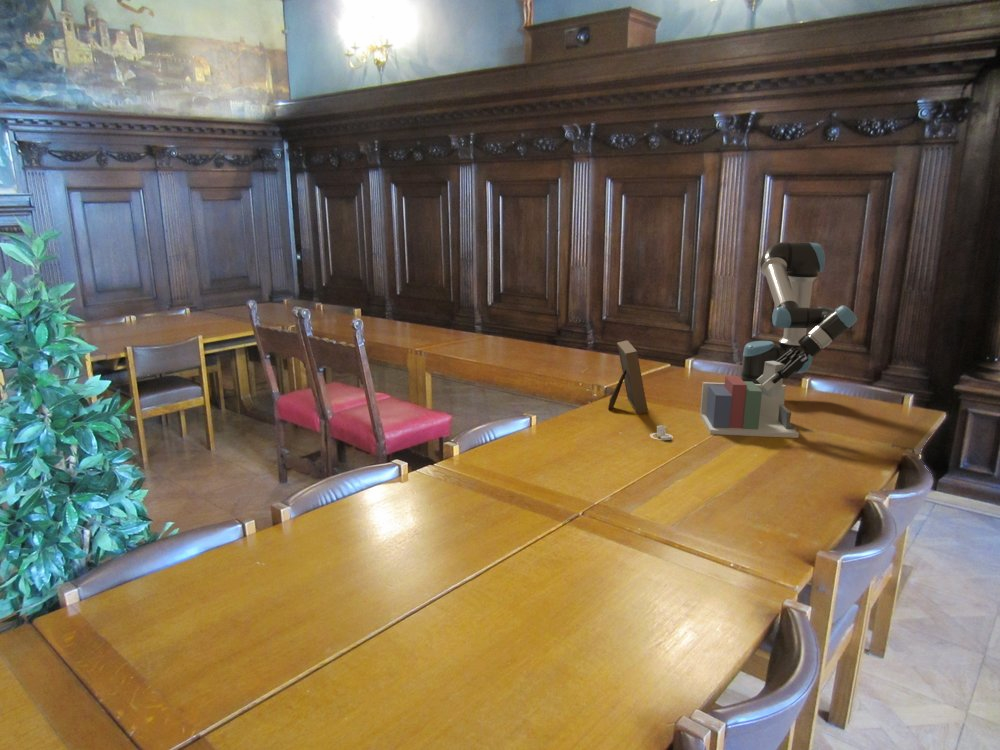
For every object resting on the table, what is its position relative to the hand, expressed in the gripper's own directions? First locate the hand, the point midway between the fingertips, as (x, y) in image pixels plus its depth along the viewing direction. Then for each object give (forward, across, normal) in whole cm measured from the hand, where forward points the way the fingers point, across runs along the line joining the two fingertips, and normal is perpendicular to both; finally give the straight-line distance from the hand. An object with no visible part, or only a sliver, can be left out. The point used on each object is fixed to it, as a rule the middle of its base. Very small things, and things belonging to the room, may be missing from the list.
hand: (761, 385), depth 241 cm
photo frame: (+45, +22, +22) cm, 54 cm away
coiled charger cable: (+39, -17, +15) cm, 45 cm away
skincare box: (0, 0, -5) cm, 5 cm away
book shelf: (+14, 0, -9) cm, 17 cm away
